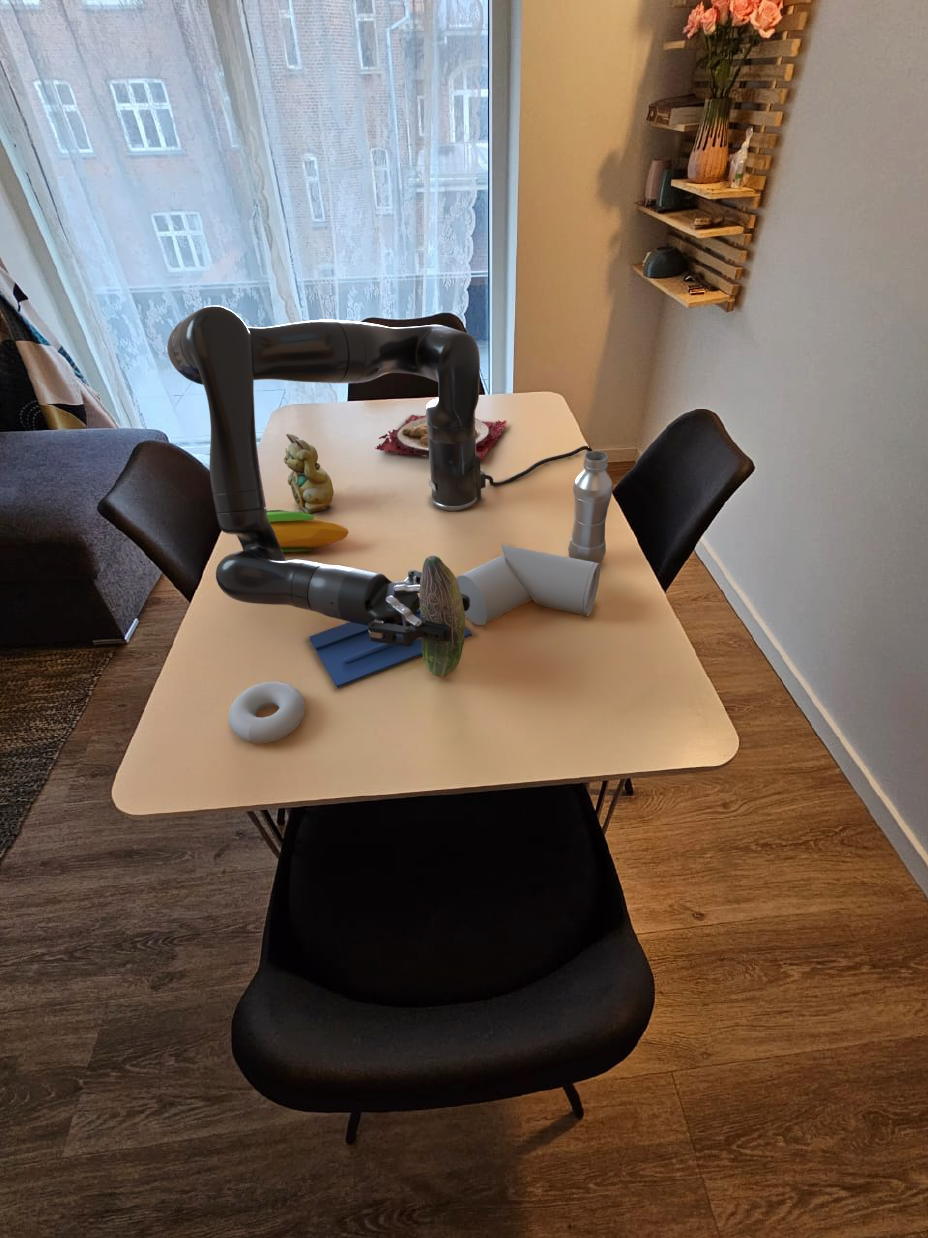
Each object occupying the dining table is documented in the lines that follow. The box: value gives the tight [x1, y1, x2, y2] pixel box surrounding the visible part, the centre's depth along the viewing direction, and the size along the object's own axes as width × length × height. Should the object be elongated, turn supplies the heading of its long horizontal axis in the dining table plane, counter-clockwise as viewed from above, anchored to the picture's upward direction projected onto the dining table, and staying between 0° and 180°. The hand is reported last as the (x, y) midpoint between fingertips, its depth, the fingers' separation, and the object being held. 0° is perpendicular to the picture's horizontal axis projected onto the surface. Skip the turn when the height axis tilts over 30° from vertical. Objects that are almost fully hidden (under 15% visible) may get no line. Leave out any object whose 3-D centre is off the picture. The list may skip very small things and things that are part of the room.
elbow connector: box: [455, 544, 601, 626], centre depth 102 cm, size 18×11×20 cm
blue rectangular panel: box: [308, 596, 473, 689], centre depth 100 cm, size 22×12×1 cm, turn 119°
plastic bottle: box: [567, 450, 614, 564], centre depth 108 cm, size 6×7×20 cm
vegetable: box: [419, 555, 466, 678], centre depth 88 cm, size 6×6×20 cm
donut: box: [228, 681, 306, 744], centre depth 87 cm, size 10×4×10 cm
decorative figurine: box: [283, 433, 335, 514], centre depth 129 cm, size 10×8×15 cm
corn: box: [267, 509, 349, 553], centre depth 119 cm, size 7×8×20 cm
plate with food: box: [374, 414, 508, 460], centre depth 156 cm, size 24×26×3 cm
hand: (459, 618), depth 87 cm, fingers closed on vegetable, 6 cm apart
